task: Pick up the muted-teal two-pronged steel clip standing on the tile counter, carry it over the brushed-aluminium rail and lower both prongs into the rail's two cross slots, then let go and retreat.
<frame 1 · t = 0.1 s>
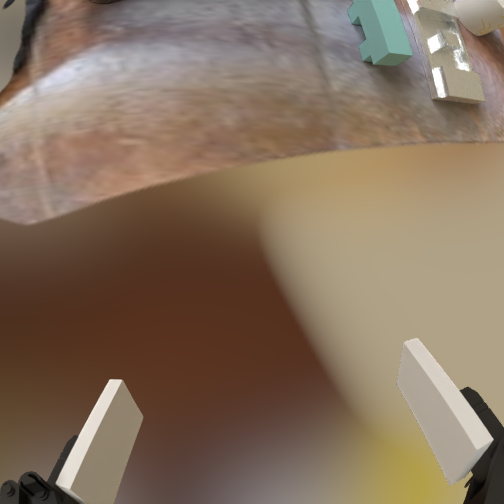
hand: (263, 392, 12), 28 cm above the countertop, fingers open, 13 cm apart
clip: (366, 35, 30), on the countertop
rail: (439, 46, 29), on the countertop
cup: (468, 18, 26), on the countertop
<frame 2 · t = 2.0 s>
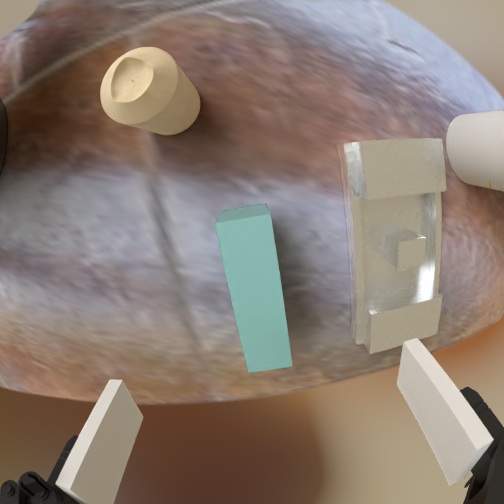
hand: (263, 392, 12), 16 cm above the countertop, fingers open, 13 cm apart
clip: (256, 265, 27), on the countertop
candle: (171, 107, 23), on the countertop
rail: (393, 241, 27), on the countertop
cup: (469, 149, 24), on the countertop
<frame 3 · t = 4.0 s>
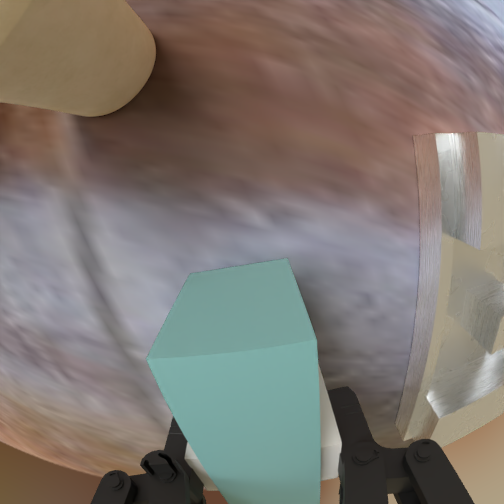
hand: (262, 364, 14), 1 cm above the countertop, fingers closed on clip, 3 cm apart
clip: (261, 351, 15), on the countertop, touching gripper
candle: (107, 67, 11), on the countertop
rail: (475, 299, 14), on the countertop
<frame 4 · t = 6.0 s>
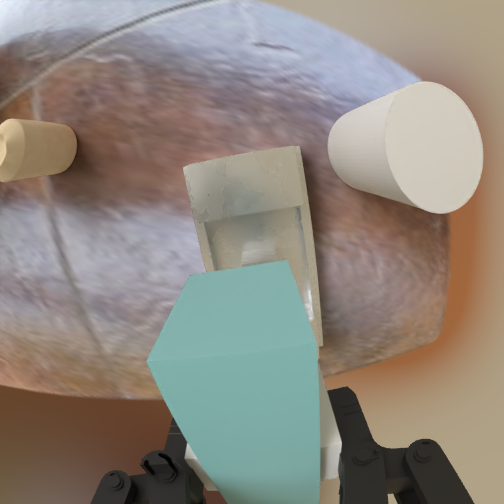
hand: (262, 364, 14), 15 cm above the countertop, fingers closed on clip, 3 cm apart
clip: (261, 352, 15), point 14 cm above the countertop, touching gripper
candle: (59, 148, 24), on the countertop
rail: (260, 259, 28), on the countertop
cup: (366, 150, 25), on the countertop
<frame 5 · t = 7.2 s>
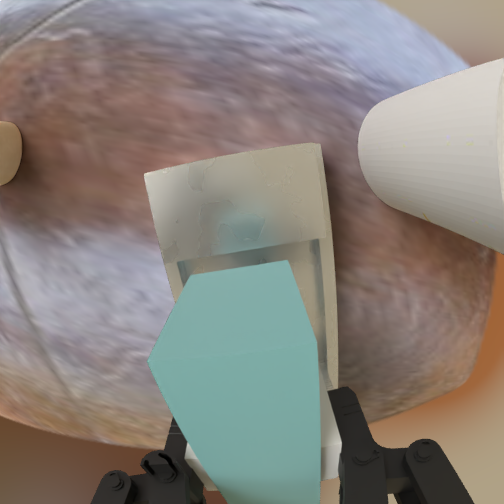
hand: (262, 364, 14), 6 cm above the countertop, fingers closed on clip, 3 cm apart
clip: (261, 352, 15), point 5 cm above the countertop, touching gripper
candle: (5, 153, 16), on the countertop
rail: (258, 305, 20), on the countertop
cup: (408, 153, 17), on the countertop
when the fingers open (3 cm above the countertop, at t = 8.0 s): clip stays where it is, resting on rail.
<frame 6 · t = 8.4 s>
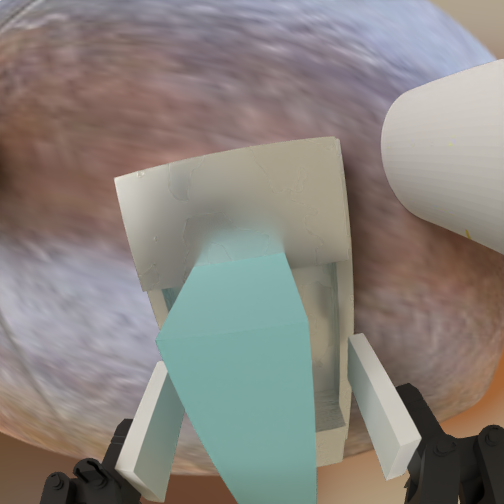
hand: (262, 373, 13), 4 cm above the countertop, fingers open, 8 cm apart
clip: (260, 343, 16), point 1 cm above the countertop, touching rail
rail: (260, 333, 16), on the countertop
cup: (437, 154, 13), on the countertop
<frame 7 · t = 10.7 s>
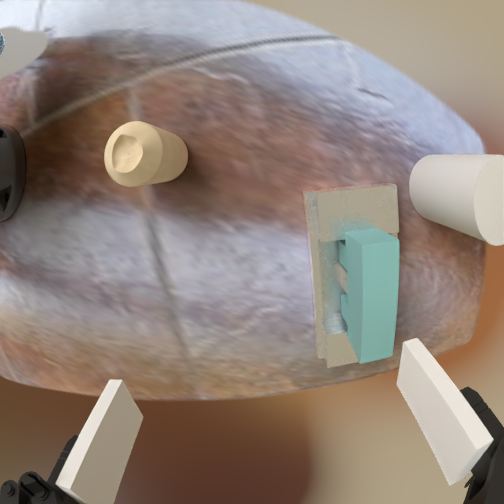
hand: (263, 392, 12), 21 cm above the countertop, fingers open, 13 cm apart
clip: (354, 276, 31), point 1 cm above the countertop, touching rail
candle: (165, 157, 29), on the countertop
rail: (352, 273, 32), on the countertop
cup: (434, 187, 29), on the countertop
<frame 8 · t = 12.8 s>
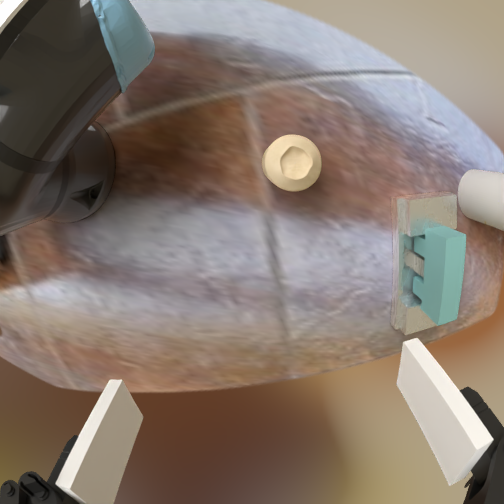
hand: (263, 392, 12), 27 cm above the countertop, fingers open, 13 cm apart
clip: (423, 262, 37), point 1 cm above the countertop, touching rail
candle: (283, 163, 35), on the countertop
rail: (420, 259, 38), on the countertop
cup: (473, 194, 35), on the countertop
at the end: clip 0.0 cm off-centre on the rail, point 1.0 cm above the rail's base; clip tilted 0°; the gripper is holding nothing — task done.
